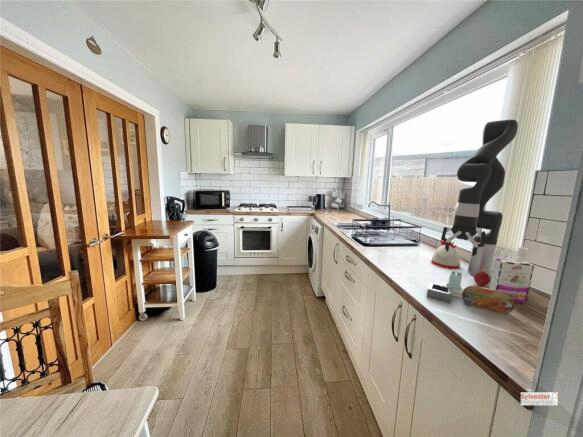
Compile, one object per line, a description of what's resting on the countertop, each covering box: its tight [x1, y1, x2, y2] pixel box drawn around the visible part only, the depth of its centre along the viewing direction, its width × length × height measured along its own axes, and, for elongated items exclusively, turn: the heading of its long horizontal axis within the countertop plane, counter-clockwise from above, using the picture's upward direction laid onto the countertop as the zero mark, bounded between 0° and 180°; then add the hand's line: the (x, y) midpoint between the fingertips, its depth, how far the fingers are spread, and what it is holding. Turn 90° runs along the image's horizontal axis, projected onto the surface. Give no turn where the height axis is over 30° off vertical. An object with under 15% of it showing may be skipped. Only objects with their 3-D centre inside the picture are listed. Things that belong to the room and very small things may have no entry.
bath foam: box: [511, 246, 531, 263], centre depth 103 cm, size 7×7×20 cm
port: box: [426, 281, 453, 304], centre depth 95 cm, size 8×8×4 cm
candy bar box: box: [489, 257, 535, 304], centre depth 96 cm, size 11×5×16 cm, turn 77°
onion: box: [473, 270, 491, 287], centre depth 107 cm, size 6×6×8 cm
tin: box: [461, 285, 515, 315], centre depth 87 cm, size 15×3×8 cm, turn 62°
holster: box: [443, 280, 465, 299], centre depth 100 cm, size 7×7×3 cm
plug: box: [448, 269, 463, 290], centre depth 99 cm, size 4×4×9 cm
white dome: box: [431, 239, 461, 270], centre depth 134 cm, size 14×14×15 cm
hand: (459, 253), depth 97 cm, fingers open, 8 cm apart
